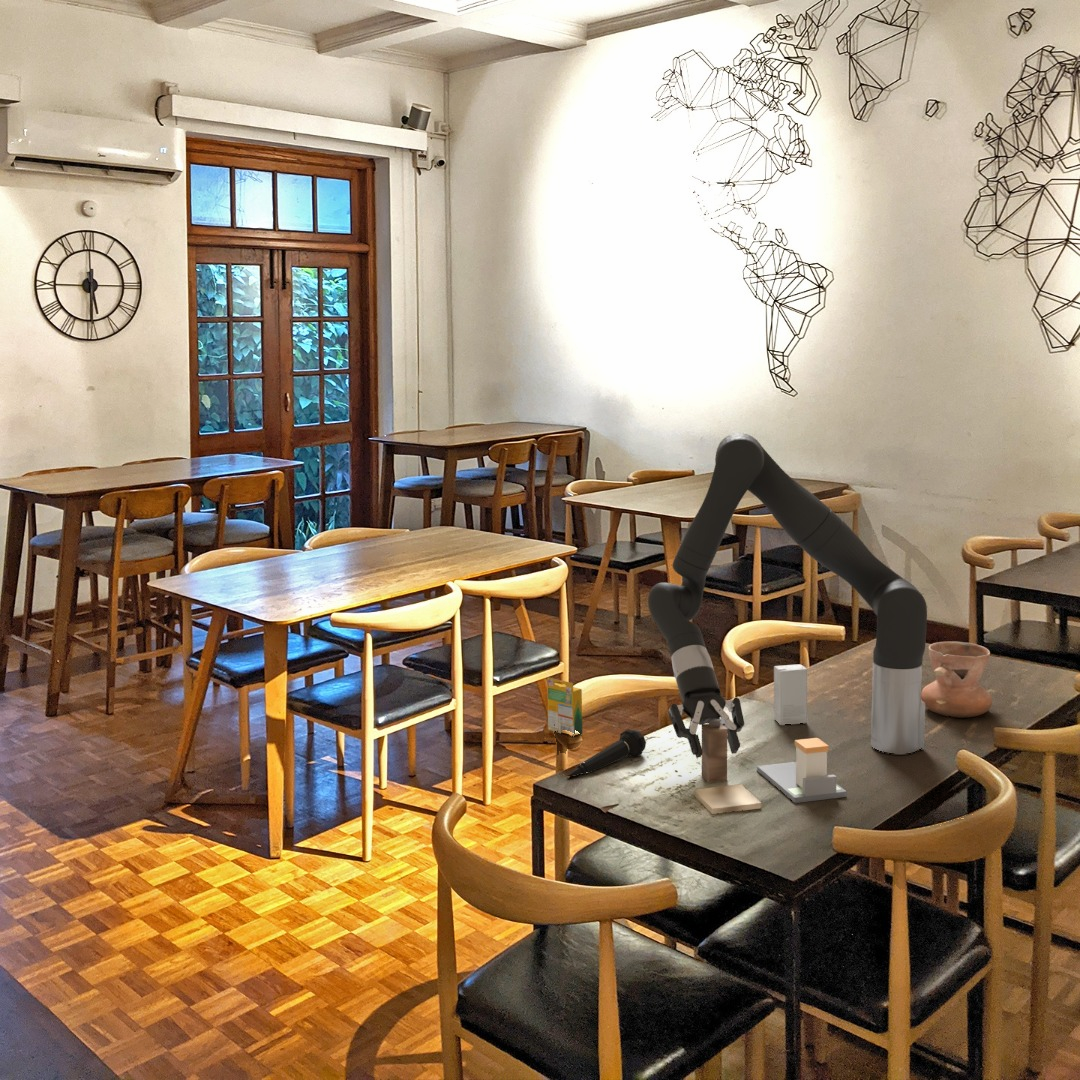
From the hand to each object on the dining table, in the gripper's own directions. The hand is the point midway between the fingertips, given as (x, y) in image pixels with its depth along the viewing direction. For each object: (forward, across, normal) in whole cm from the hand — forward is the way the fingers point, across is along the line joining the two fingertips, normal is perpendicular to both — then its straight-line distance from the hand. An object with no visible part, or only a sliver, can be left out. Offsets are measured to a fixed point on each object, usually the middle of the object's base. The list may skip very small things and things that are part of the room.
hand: (717, 753), depth 217 cm
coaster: (+10, -2, -3) cm, 11 cm away
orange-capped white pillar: (+10, +14, -4) cm, 17 cm away
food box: (-21, -20, +28) cm, 40 cm away
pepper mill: (+3, 0, +5) cm, 6 cm away
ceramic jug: (-12, +64, +20) cm, 68 cm away
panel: (+8, +14, 0) cm, 16 cm away
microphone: (-6, -17, +14) cm, 23 cm away
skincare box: (-15, +27, +23) cm, 38 cm away
